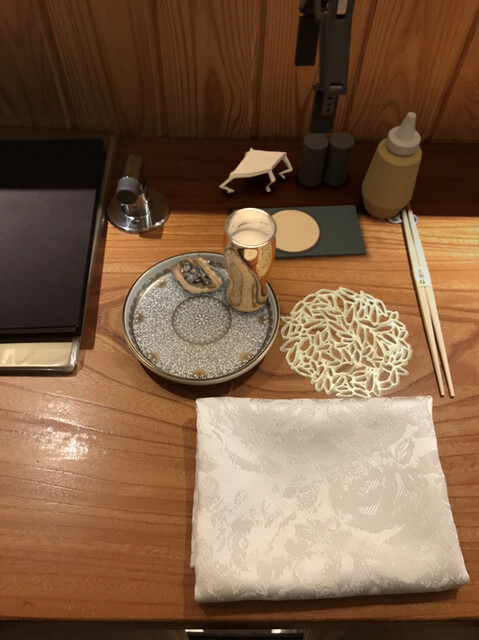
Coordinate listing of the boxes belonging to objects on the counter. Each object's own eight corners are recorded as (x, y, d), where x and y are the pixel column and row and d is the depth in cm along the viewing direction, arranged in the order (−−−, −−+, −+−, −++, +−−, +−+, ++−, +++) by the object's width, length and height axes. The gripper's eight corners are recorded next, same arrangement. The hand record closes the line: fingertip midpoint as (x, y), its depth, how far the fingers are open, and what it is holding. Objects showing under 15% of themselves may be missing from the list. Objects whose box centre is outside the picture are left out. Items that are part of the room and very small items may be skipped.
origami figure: (258, 154, 99) (259, 131, 94) (293, 179, 96) (296, 156, 91) (208, 189, 94) (207, 166, 90) (244, 216, 91) (244, 194, 87)
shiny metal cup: (213, 292, 83) (211, 223, 70) (249, 268, 85) (253, 198, 73) (244, 323, 80) (247, 257, 67) (280, 297, 83) (290, 230, 70)
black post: (320, 170, 97) (327, 132, 90) (322, 186, 95) (330, 149, 88) (297, 170, 97) (302, 132, 90) (299, 186, 95) (304, 149, 88)
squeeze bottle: (411, 198, 94) (447, 106, 79) (398, 231, 90) (433, 141, 75) (365, 182, 95) (391, 90, 80) (350, 215, 92) (374, 123, 76)
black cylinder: (343, 168, 97) (352, 131, 90) (347, 185, 95) (356, 148, 88) (320, 169, 97) (327, 131, 90) (324, 186, 95) (331, 149, 88)
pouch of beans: (189, 249, 87) (188, 241, 86) (233, 271, 85) (233, 264, 83) (163, 279, 84) (162, 271, 82) (208, 303, 82) (208, 295, 80)
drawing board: (354, 207, 92) (355, 204, 92) (365, 255, 87) (366, 252, 87) (233, 212, 91) (233, 208, 91) (237, 260, 86) (237, 257, 86)
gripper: (285, -145, 61) (272, 40, 79) (322, -25, 48) (296, 164, 66) (353, -146, 62) (324, 39, 80) (408, -28, 49) (359, 161, 67)
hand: (311, 96), depth 73 cm, fingers open, 13 cm apart
